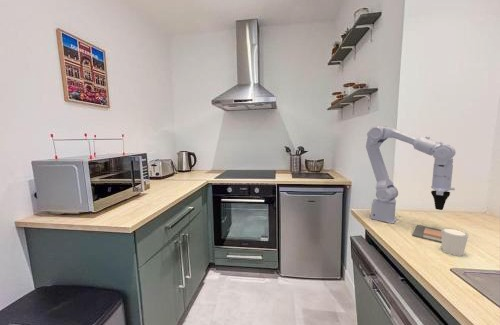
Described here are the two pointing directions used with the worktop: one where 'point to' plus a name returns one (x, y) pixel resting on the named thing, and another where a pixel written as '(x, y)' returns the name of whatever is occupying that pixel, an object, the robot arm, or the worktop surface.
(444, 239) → the white short cylinder
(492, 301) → the worktop surface
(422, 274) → the worktop surface
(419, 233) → the plate
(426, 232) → the tile
